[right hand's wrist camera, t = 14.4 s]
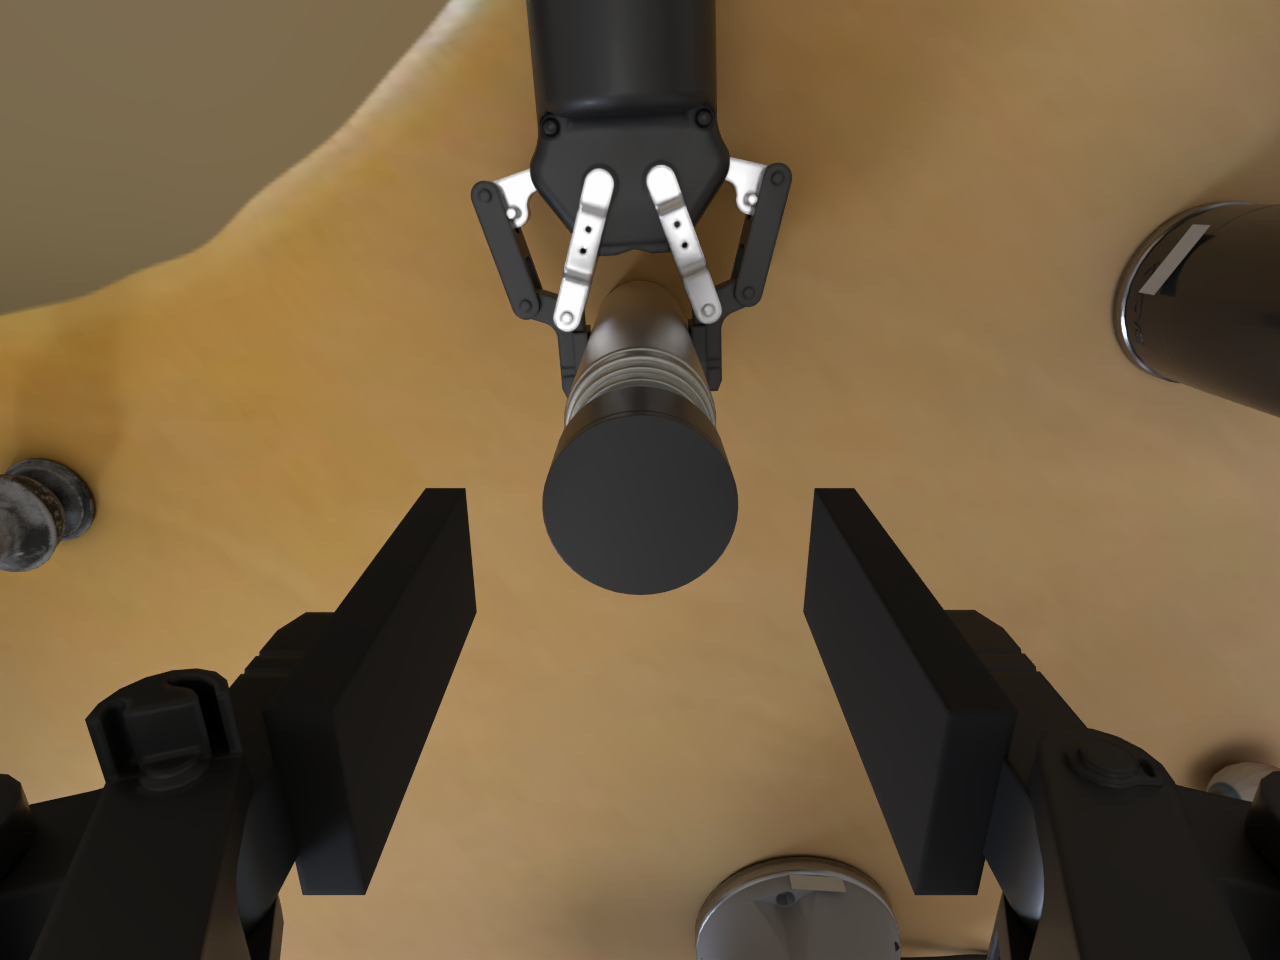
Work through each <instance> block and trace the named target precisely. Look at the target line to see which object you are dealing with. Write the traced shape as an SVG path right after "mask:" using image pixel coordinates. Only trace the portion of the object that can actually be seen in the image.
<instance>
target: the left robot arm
mask: <svg viewBox="0 0 1280 960" xmlns="http://www.w3.org/2000/svg"><path fill="white" fill-rule="evenodd" d="M526 4H527V14H528V25H529V36H530V46H531V57H532V68H533V79H534V89H535V100H536V111H537V121H538V141H537V146H536V149H535V152H534V154H533V157H532V159H531V163H530V169H527V170H525V171H522V172H519V173H516V174H513V175H510V176H508V177H505V178H502V179H499V180H496V181H488V180H486V181H480V182H478V183H476V184H475V185H474V186H473V188H472V190H471V200H472V203H473V205H474V208H475V211H476V213H477V216H478V219H479V221H480V224H481V227H482V229H483V232H484V235H485V237H486V240H487V243H488V245H489V248H490V251H491V253H492V256H493V259H494V261H495V264H496V266H497V269H498V272H499V274H500V277H501V280H502V282H503V285H504V288H505V290H506V293H507V296H508V298H509V301H510V304H511V306H512V309H513V311H514V313H515V315H516V316H518V317H519V318H521V319H524V320H529V319H533V320H536V321H540V322H543V323H546V324H548V325H550V326H551V327H552V328H553V329H554V330H555V331H556V333H557V336H558V345H559V355H560V366H561V376H562V388H563V391H564V393H565V395H566V396H567V398H568V396H569V393H570V390H571V387H572V384H573V382H574V379H575V376H576V373H577V371H578V368H579V365H580V362H581V360H582V357H583V354H584V351H585V348H586V346H587V343H588V340H589V337H590V335H591V329H590V325H586V322H585V307H586V303H587V300H588V296H589V292H590V288H591V284H592V280H593V277H594V273H595V270H596V266H597V262H598V258H599V256H609V255H618V254H621V253H624V252H627V251H630V250H633V249H636V250H641V251H645V252H650V253H662V252H670V251H671V254H672V256H673V259H674V262H675V264H676V267H677V269H678V272H679V275H680V277H681V280H682V283H683V285H684V288H685V291H686V293H687V296H688V299H689V301H690V304H691V306H692V319H688V331H689V334H690V337H691V339H692V342H693V345H694V348H695V350H696V353H697V356H698V359H699V361H700V364H701V367H702V370H703V372H704V375H705V378H706V381H707V383H708V386H709V389H710V391H718V389H719V386H720V383H721V381H722V368H721V367H722V362H721V326H722V322H723V320H724V319H725V318H726V317H727V316H728V315H729V314H730V313H732V312H735V311H737V310H739V309H742V308H744V307H751V306H754V305H756V304H757V303H758V302H759V301H760V299H761V297H762V293H763V289H764V286H765V282H766V278H767V274H768V270H769V266H770V262H771V259H772V255H773V251H774V247H775V243H776V239H777V235H778V232H779V228H780V224H781V220H782V216H783V212H784V208H785V204H786V201H787V197H788V193H789V189H790V185H791V181H792V174H791V171H790V169H789V168H788V167H787V166H786V165H785V164H782V163H774V164H770V165H763V164H758V163H754V162H750V161H745V160H741V159H736V158H732V157H730V156H729V152H728V149H727V147H726V145H725V143H724V142H723V140H722V138H721V135H720V132H719V129H718V123H717V88H716V18H715V0H526ZM724 181H727V182H728V183H730V185H731V186H732V187H733V190H734V205H735V207H736V209H737V210H738V211H739V212H741V213H744V214H746V217H745V221H744V225H743V229H742V233H741V238H740V242H739V246H738V250H737V254H736V258H735V262H734V266H733V271H732V275H731V279H730V280H727V281H725V282H723V283H720V284H718V285H716V286H714V284H713V281H712V279H711V276H710V273H709V270H708V267H707V263H706V260H705V258H704V255H703V252H702V249H701V247H700V244H699V241H698V238H697V235H696V233H695V230H694V227H695V226H696V224H697V223H698V221H699V220H700V218H701V216H702V215H703V213H704V212H705V210H706V209H707V207H708V205H709V204H710V202H711V201H712V199H713V198H714V196H715V194H716V193H717V191H718V190H719V188H720V187H721V185H722V183H723V182H724ZM536 192H538V193H539V194H540V195H541V196H542V198H543V199H544V200H545V201H546V203H547V204H548V205H549V206H550V208H551V209H552V210H553V211H554V213H555V214H556V215H557V216H558V218H559V219H560V220H561V221H562V223H563V224H564V225H565V226H566V228H567V229H568V230H569V231H570V232H571V234H572V237H571V242H570V246H569V250H568V254H567V258H566V262H565V266H564V271H563V278H562V282H561V286H560V291H559V294H556V293H552V292H549V291H546V290H543V288H542V286H541V283H540V280H539V277H538V274H537V272H536V269H535V266H534V263H533V260H532V258H531V255H530V252H529V249H528V246H527V244H526V241H525V238H524V235H523V233H522V230H521V226H524V225H525V224H527V223H528V221H529V219H530V217H531V210H530V200H531V197H532V196H533V195H534V194H535V193H536ZM1113 318H1114V327H1115V333H1116V336H1117V339H1118V342H1119V344H1120V346H1121V348H1122V350H1123V352H1124V353H1125V355H1126V356H1127V357H1128V358H1129V360H1130V361H1131V362H1132V363H1133V364H1134V365H1136V366H1137V367H1138V368H1140V369H1141V370H1143V371H1144V372H1146V373H1148V374H1150V375H1152V376H1155V377H1158V378H1161V379H1164V380H1167V381H1170V382H1175V383H1182V384H1185V385H1187V386H1190V387H1193V388H1196V389H1199V390H1201V391H1204V392H1207V393H1210V394H1213V395H1215V396H1218V397H1221V398H1224V399H1227V400H1230V401H1233V402H1236V403H1239V404H1242V405H1245V406H1247V407H1250V408H1253V409H1256V410H1259V411H1262V412H1265V413H1268V414H1271V415H1274V416H1277V417H1279V418H1280V204H1256V203H1251V202H1216V203H1210V204H1205V205H1202V206H1198V207H1195V208H1193V209H1190V210H1188V211H1185V212H1183V213H1181V214H1179V215H1177V216H1176V217H1174V218H1172V219H1171V220H1169V221H1168V222H1166V223H1165V224H1164V225H1162V226H1161V227H1160V228H1158V229H1157V230H1156V231H1155V232H1154V233H1152V234H1151V235H1150V236H1149V237H1148V238H1147V239H1146V240H1145V242H1144V243H1143V244H1142V245H1141V246H1140V247H1139V249H1138V250H1137V251H1136V253H1135V254H1134V255H1133V257H1132V258H1131V260H1130V262H1129V263H1128V265H1127V267H1126V269H1125V271H1124V273H1123V275H1122V277H1121V280H1120V282H1119V285H1118V288H1117V292H1116V296H1115V301H1114V314H1113Z"/></svg>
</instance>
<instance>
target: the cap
mask: <svg viewBox="0 0 1280 960" xmlns="http://www.w3.org/2000/svg"><path fill="white" fill-rule="evenodd" d="M542 509H543V517H544V523H545V526H546V530H547V533H548V536H549V538H550V540H551V543H552V544H553V546H554V548H555V549H556V551H557V553H558V554H559V555H560V557H561V558H562V559H563V560H564V562H565V563H566V564H567V565H568V566H569V567H570V568H571V569H572V570H574V571H575V572H576V573H577V574H579V575H580V576H581V577H583V578H584V579H586V580H588V581H589V582H591V583H593V584H595V585H597V586H600V587H602V588H604V589H607V590H611V591H614V592H619V593H624V594H634V595H647V594H656V593H662V592H666V591H670V590H673V589H676V588H679V587H681V586H683V585H686V584H688V583H689V582H691V581H693V580H695V579H696V578H698V577H699V576H701V575H702V574H703V573H704V572H706V571H707V570H708V569H709V568H710V567H711V566H712V565H713V564H714V563H715V562H716V561H717V560H718V559H719V557H720V556H721V555H722V553H723V552H724V550H725V549H726V547H727V545H728V544H729V542H730V539H731V537H732V534H733V532H734V529H735V525H736V521H737V514H738V494H737V488H736V484H735V480H734V477H733V474H732V471H731V468H730V465H729V462H728V459H727V456H726V453H725V450H724V447H723V444H722V441H721V438H720V436H719V434H718V432H717V430H716V428H715V427H714V425H713V424H712V422H711V421H710V419H709V418H708V417H707V416H706V415H705V414H704V412H703V411H702V410H700V409H699V408H698V407H697V406H696V405H695V404H693V403H692V402H690V401H689V400H687V399H686V398H684V397H682V396H680V395H678V394H676V393H674V392H671V391H668V390H665V389H660V388H655V387H646V386H634V387H625V388H620V389H616V390H613V391H610V392H607V393H605V394H603V395H601V396H599V397H596V398H595V399H593V400H592V401H590V402H589V403H587V404H586V405H585V406H584V407H582V408H581V409H580V410H579V411H578V412H577V413H576V414H575V415H574V416H573V418H572V419H571V420H570V421H569V423H568V424H567V426H566V427H565V429H564V431H563V433H562V435H561V437H560V440H559V443H558V446H557V449H556V452H555V455H554V458H553V461H552V464H551V467H550V470H549V473H548V476H547V479H546V482H545V486H544V492H543V507H542Z"/></svg>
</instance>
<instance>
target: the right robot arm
mask: <svg viewBox="0 0 1280 960" xmlns="http://www.w3.org/2000/svg"><path fill="white" fill-rule="evenodd" d="M476 612H477V611H476V600H475V589H474V578H473V567H472V556H471V545H470V534H469V523H468V512H467V501H466V490H465V488H426V489H425V490H424V491H423V493H422V494H421V495H420V497H419V498H418V500H417V501H416V502H415V504H414V505H413V506H412V508H411V509H410V510H409V512H408V513H407V514H406V516H405V517H404V519H403V520H402V521H401V523H400V524H399V525H398V527H397V528H396V529H395V531H394V532H393V533H392V535H391V536H390V538H389V539H388V540H387V542H386V543H385V544H384V546H383V547H382V548H381V550H380V551H379V552H378V554H377V555H376V557H375V558H374V559H373V561H372V562H371V563H370V565H369V566H368V567H367V569H366V570H365V571H364V573H363V574H362V576H361V577H360V578H359V580H358V581H357V582H356V584H355V585H354V586H353V588H352V589H351V590H350V592H349V593H348V595H347V596H346V597H345V599H344V600H343V601H342V603H341V604H340V605H339V607H338V608H337V609H336V611H335V612H306V613H304V614H303V615H301V616H299V617H298V618H296V619H295V620H293V621H292V622H290V623H288V624H287V625H285V626H284V627H282V628H281V629H279V630H277V632H276V633H275V634H274V635H273V636H272V638H271V639H270V640H269V641H268V642H267V643H266V645H265V646H264V647H263V648H262V649H261V651H260V654H259V656H256V657H255V658H254V659H253V660H252V661H251V663H250V664H249V665H248V666H247V667H246V669H245V673H244V674H241V675H240V676H239V677H238V678H237V679H236V680H235V682H234V683H233V684H232V685H231V686H230V688H229V687H228V682H227V680H226V679H225V678H223V677H222V676H221V675H219V674H218V673H217V672H214V671H208V670H203V669H197V668H196V669H184V670H172V671H169V672H165V673H161V674H157V675H153V676H150V677H146V678H144V679H141V680H139V681H137V682H135V683H132V684H130V685H128V686H126V687H123V688H121V689H119V690H118V691H116V692H115V693H113V694H112V695H110V696H109V697H107V698H106V699H105V700H103V701H102V702H100V703H99V704H98V705H97V706H96V707H95V708H94V709H93V711H92V712H91V713H90V714H89V715H88V717H87V718H86V719H85V721H86V724H87V727H88V730H89V733H90V736H91V739H92V742H93V745H94V748H95V751H96V754H97V757H98V760H99V763H100V766H101V769H102V773H103V776H104V779H105V782H106V783H105V786H104V788H101V789H98V790H94V791H90V792H86V793H81V794H77V795H72V796H67V797H63V798H58V799H54V800H49V801H45V802H40V803H35V804H31V805H29V804H28V801H27V799H26V796H25V793H24V791H23V788H22V786H21V783H20V782H19V781H17V780H16V779H14V778H13V777H11V776H10V775H8V774H0V960H280V953H281V944H282V934H283V924H284V921H283V915H282V908H281V904H280V899H279V895H278V893H279V891H280V889H281V887H282V885H283V883H284V881H285V879H286V877H287V875H288V873H289V871H290V870H291V868H292V866H293V864H294V862H296V867H297V871H298V876H299V880H300V885H301V889H302V894H303V895H365V894H366V891H367V889H368V886H369V884H370V881H371V879H372V876H373V873H374V871H375V868H376V866H377V863H378V861H379V858H380V856H381V853H382V851H383V848H384V846H385V843H386V841H387V838H388V835H389V833H390V830H391V828H392V825H393V823H394V820H395V818H396V815H397V813H398V810H399V808H400V805H401V802H402V800H403V797H404V795H405V792H406V790H407V787H408V785H409V782H410V780H411V777H412V775H413V772H414V770H415V767H416V764H417V762H418V759H419V757H420V754H421V752H422V749H423V747H424V744H425V742H426V739H427V737H428V734H429V731H430V729H431V726H432V724H433V721H434V719H435V716H436V714H437V711H438V709H439V706H440V704H441V701H442V699H443V696H444V693H445V691H446V688H447V686H448V683H449V681H450V678H451V676H452V673H453V671H454V668H455V666H456V663H457V660H458V658H459V655H460V653H461V650H462V648H463V645H464V643H465V640H466V638H467V635H468V633H469V630H470V628H471V625H472V622H473V620H474V617H475V615H476ZM803 612H804V615H805V617H806V620H807V622H808V625H809V628H810V630H811V633H812V635H813V638H814V640H815V643H816V645H817V648H818V650H819V653H820V655H821V658H822V660H823V663H824V666H825V668H826V671H827V673H828V676H829V678H830V681H831V683H832V686H833V688H834V691H835V693H836V696H837V699H838V701H839V704H840V706H841V709H842V711H843V714H844V716H845V719H846V721H847V724H848V726H849V729H850V731H851V734H852V737H853V739H854V742H855V744H856V747H857V749H858V752H859V754H860V757H861V759H862V762H863V764H864V767H865V770H866V772H867V775H868V777H869V780H870V782H871V785H872V787H873V790H874V792H875V795H876V797H877V800H878V802H879V805H880V808H881V810H882V813H883V815H884V818H885V820H886V823H887V825H888V828H889V830H890V833H891V835H892V838H893V841H894V843H895V846H896V848H897V851H898V853H899V856H900V858H901V861H902V863H903V866H904V868H905V871H906V873H907V876H908V879H909V881H910V884H911V886H912V889H913V891H914V894H915V895H977V894H978V889H979V885H980V880H981V876H982V871H983V867H984V862H985V858H986V860H987V862H988V864H989V866H990V868H991V870H992V872H993V873H994V875H995V877H996V879H997V881H998V883H999V885H1000V887H1001V889H1002V895H1001V899H1000V904H999V908H998V912H997V916H996V920H995V925H994V929H993V933H992V937H991V941H990V945H989V950H988V955H979V954H969V955H953V956H939V957H904V958H901V943H900V937H899V930H898V926H897V923H896V920H895V917H894V914H893V911H892V909H891V906H890V903H889V901H888V899H887V897H886V895H885V894H884V892H883V891H882V890H881V888H880V887H879V886H878V885H877V884H876V883H875V882H874V881H873V880H871V879H870V878H869V877H868V876H866V875H865V874H863V873H862V872H860V871H858V870H856V869H855V868H852V867H850V866H848V865H845V864H842V863H839V862H836V861H832V860H828V859H821V858H813V857H790V858H781V859H775V860H771V861H766V862H763V863H760V864H756V865H754V866H751V867H749V868H746V869H744V870H742V871H740V872H738V873H736V874H735V875H733V876H731V877H730V878H728V879H727V880H726V881H724V882H723V883H722V884H721V885H719V886H718V887H717V888H716V889H715V890H714V891H713V892H712V893H711V894H710V896H709V897H708V898H707V899H706V901H705V903H704V904H703V906H702V908H701V910H700V912H699V914H698V917H697V921H696V926H695V941H696V954H697V960H1280V771H1273V772H1271V773H1270V774H1268V775H1267V776H1265V777H1264V778H1262V779H1261V780H1260V783H1259V786H1258V788H1257V791H1256V793H1255V796H1254V799H1253V801H1252V802H1251V801H1246V800H1241V799H1237V798H1232V797H1228V796H1223V795H1218V794H1214V793H1209V792H1204V791H1200V790H1195V789H1191V788H1187V787H1183V786H1179V785H1176V784H1175V782H1174V781H1173V779H1172V778H1171V776H1170V775H1169V774H1168V772H1167V771H1166V769H1165V768H1164V767H1163V765H1162V764H1161V763H1159V762H1158V761H1157V760H1155V759H1154V758H1153V757H1152V756H1150V755H1149V754H1148V753H1147V752H1145V751H1144V750H1143V749H1141V748H1139V747H1137V746H1135V745H1133V744H1131V743H1129V742H1127V741H1125V740H1123V739H1121V738H1119V737H1118V736H1114V735H1111V734H1108V733H1104V732H1101V731H1098V730H1094V729H1089V728H1087V727H1086V726H1085V725H1084V723H1083V722H1082V721H1081V720H1080V719H1079V717H1078V716H1077V715H1076V714H1075V713H1074V712H1073V710H1072V709H1071V708H1070V707H1069V706H1068V704H1067V703H1066V702H1065V701H1064V700H1063V698H1062V697H1061V696H1060V695H1059V694H1058V693H1057V691H1056V690H1055V689H1054V688H1053V687H1052V685H1051V684H1050V683H1049V682H1048V681H1047V680H1046V678H1045V677H1044V676H1043V675H1042V674H1041V672H1037V671H1036V666H1035V665H1034V664H1033V663H1032V662H1031V661H1030V659H1029V658H1028V657H1027V656H1026V655H1025V654H1022V653H1021V649H1020V648H1019V646H1018V645H1017V644H1016V643H1015V642H1014V640H1013V639H1012V638H1011V637H1010V636H1009V634H1008V633H1007V632H1006V631H1005V630H1004V629H1003V628H1002V627H1001V626H999V625H997V624H996V623H994V622H993V621H991V620H989V619H988V618H986V617H985V616H983V615H982V614H980V613H978V612H977V611H975V610H944V609H943V608H942V607H941V605H940V604H939V603H938V601H937V600H936V599H935V597H934V596H933V595H932V593H931V592H930V590H929V589H928V588H927V586H926V585H925V584H924V582H923V581H922V580H921V578H920V577H919V576H918V574H917V573H916V571H915V570H914V569H913V567H912V566H911V565H910V563H909V562H908V561H907V559H906V558H905V557H904V555H903V554H902V552H901V551H900V550H899V548H898V547H897V546H896V544H895V543H894V542H893V540H892V539H891V538H890V536H889V535H888V533H887V532H886V531H885V529H884V528H883V527H882V525H881V524H880V523H879V521H878V520H877V519H876V517H875V516H874V514H873V513H872V512H871V510H870V509H869V508H868V506H867V505H866V504H865V502H864V501H863V500H862V498H861V497H860V495H859V494H858V493H857V491H856V490H855V489H854V488H815V490H814V501H813V512H812V523H811V534H810V545H809V556H808V567H807V578H806V589H805V600H804V611H803ZM999 955H1000V956H999Z"/></svg>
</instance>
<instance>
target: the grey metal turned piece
mask: <svg viewBox="0 0 1280 960" xmlns="http://www.w3.org/2000/svg"><path fill="white" fill-rule="evenodd" d="M93 517H94V503H93V500H92V497H91V494H90V492H89V490H88V489H87V487H86V486H85V484H84V483H83V482H82V480H81V479H80V478H79V477H78V476H77V475H76V474H75V473H73V472H72V471H70V470H69V469H67V468H66V467H64V466H63V465H60V464H58V463H55V462H53V461H50V460H44V459H27V460H24V461H21V462H18V463H16V464H14V465H13V466H12V467H10V468H9V469H8V470H7V471H6V473H5V475H0V570H4V571H10V572H24V571H29V570H32V569H35V568H38V567H39V566H41V565H42V564H44V563H45V562H46V561H48V560H49V558H50V557H51V555H52V554H53V552H54V551H55V548H56V547H57V545H58V544H59V542H60V541H67V540H70V539H74V538H77V537H78V536H80V535H81V534H83V533H84V532H85V531H87V529H88V528H89V526H90V525H91V524H92V520H93Z"/></svg>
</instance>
